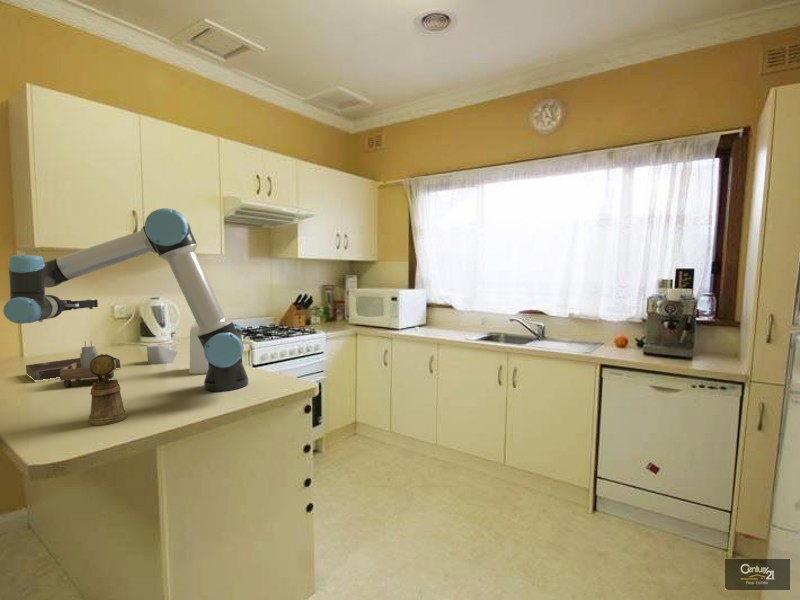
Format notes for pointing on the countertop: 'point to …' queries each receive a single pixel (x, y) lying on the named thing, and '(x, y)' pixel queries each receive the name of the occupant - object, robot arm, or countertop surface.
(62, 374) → the cart
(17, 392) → the countertop surface
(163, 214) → the robot arm
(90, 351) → the power adapter
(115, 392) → the brown bell-shaped piece
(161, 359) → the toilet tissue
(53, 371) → the brown wooden tray
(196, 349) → the milk
